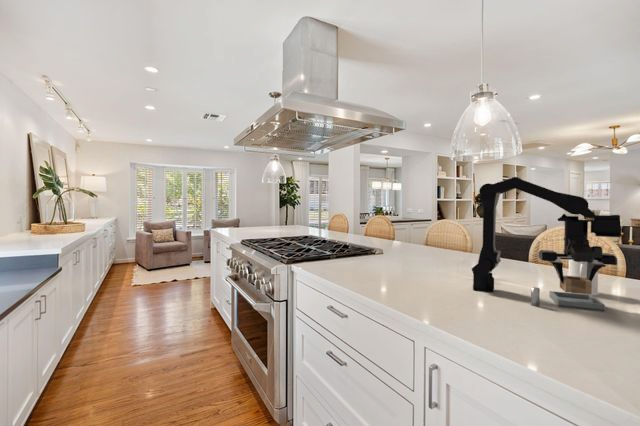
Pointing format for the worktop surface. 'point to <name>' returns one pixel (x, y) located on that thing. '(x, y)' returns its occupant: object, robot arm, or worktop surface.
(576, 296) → the tray
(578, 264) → the mug
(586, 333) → the worktop surface
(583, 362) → the worktop surface
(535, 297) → the post
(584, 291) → the brown square socket block
